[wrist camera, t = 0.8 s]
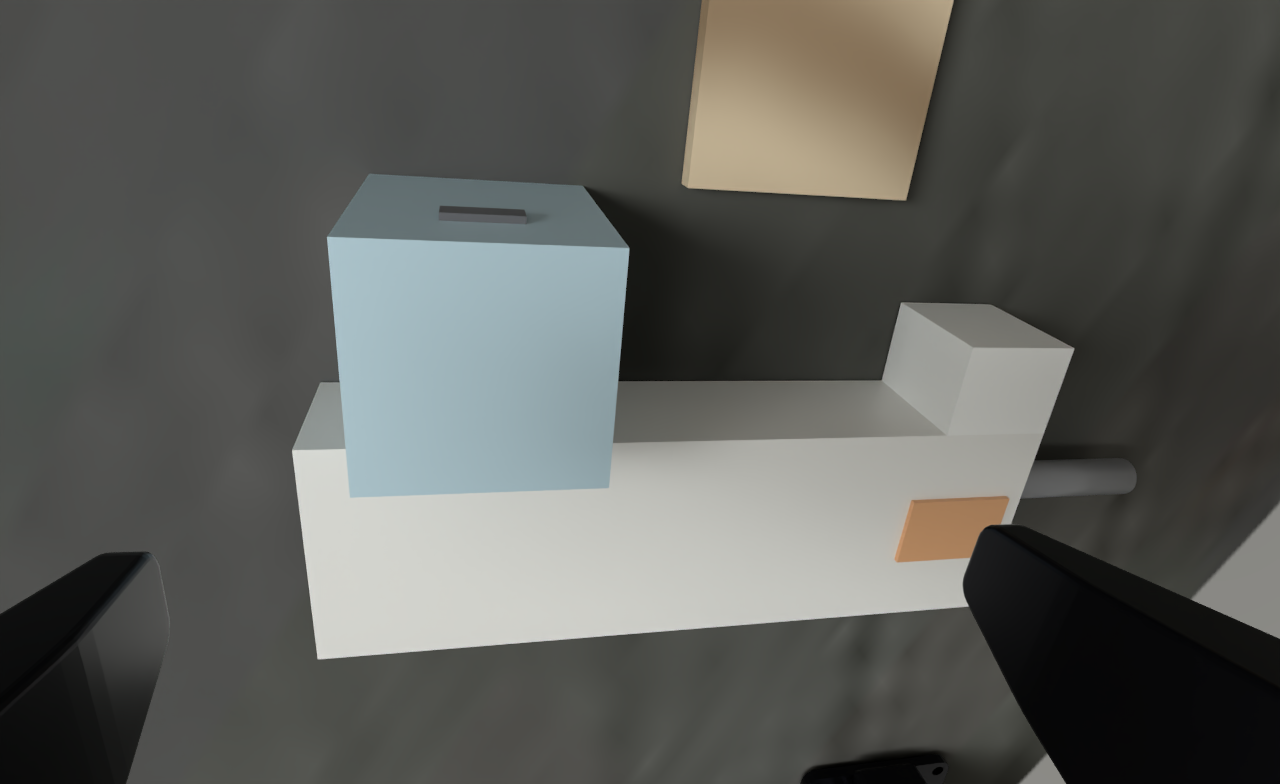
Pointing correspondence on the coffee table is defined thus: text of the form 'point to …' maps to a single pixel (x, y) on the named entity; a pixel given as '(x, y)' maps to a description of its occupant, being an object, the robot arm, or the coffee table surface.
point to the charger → (476, 336)
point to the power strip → (712, 503)
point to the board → (812, 95)
